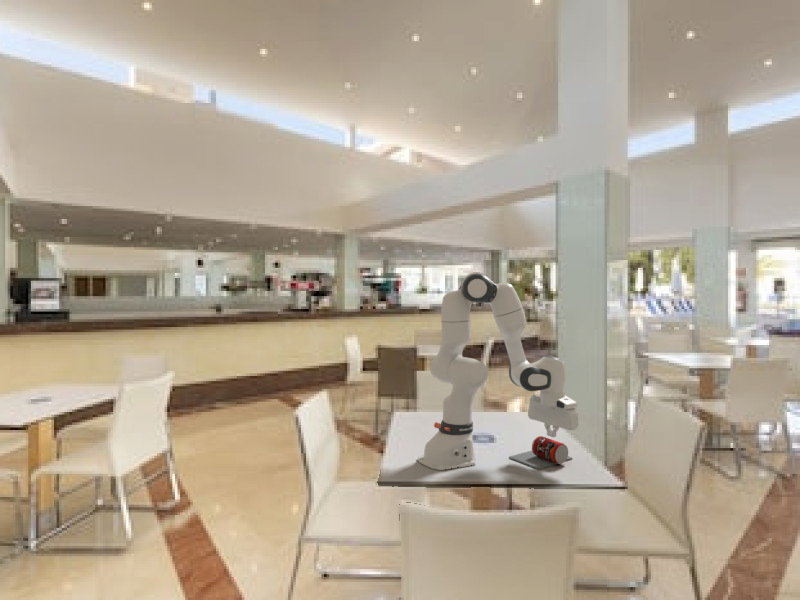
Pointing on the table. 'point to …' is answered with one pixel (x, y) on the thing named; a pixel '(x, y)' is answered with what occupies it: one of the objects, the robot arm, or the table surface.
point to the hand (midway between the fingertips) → (551, 436)
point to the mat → (533, 460)
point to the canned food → (550, 449)
